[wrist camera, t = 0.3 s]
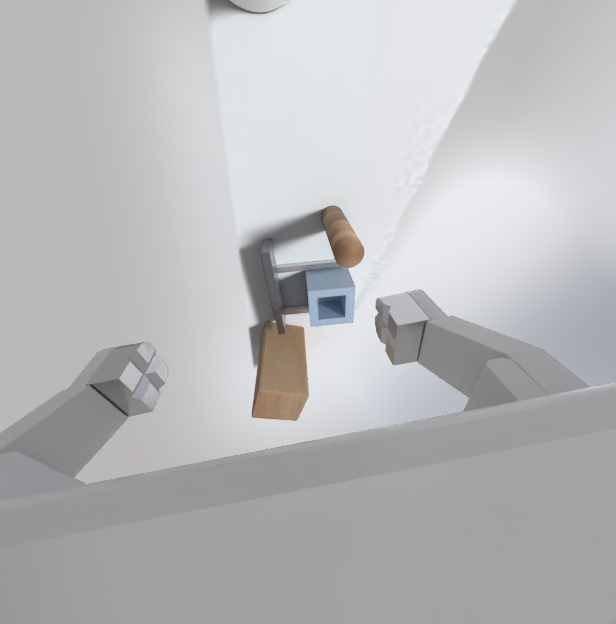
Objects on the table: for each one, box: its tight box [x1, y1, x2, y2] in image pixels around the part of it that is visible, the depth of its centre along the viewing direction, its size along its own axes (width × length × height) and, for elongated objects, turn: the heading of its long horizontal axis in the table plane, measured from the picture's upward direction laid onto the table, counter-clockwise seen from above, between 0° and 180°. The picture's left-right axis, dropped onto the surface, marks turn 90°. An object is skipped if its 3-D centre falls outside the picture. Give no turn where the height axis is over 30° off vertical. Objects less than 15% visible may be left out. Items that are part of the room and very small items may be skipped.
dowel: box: [322, 206, 364, 268], centre depth 38 cm, size 4×4×16 cm
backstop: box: [261, 239, 342, 334], centre depth 50 cm, size 20×16×6 cm
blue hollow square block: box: [305, 267, 355, 327], centre depth 50 cm, size 9×9×8 cm
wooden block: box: [252, 322, 309, 421], centre depth 55 cm, size 10×10×20 cm
